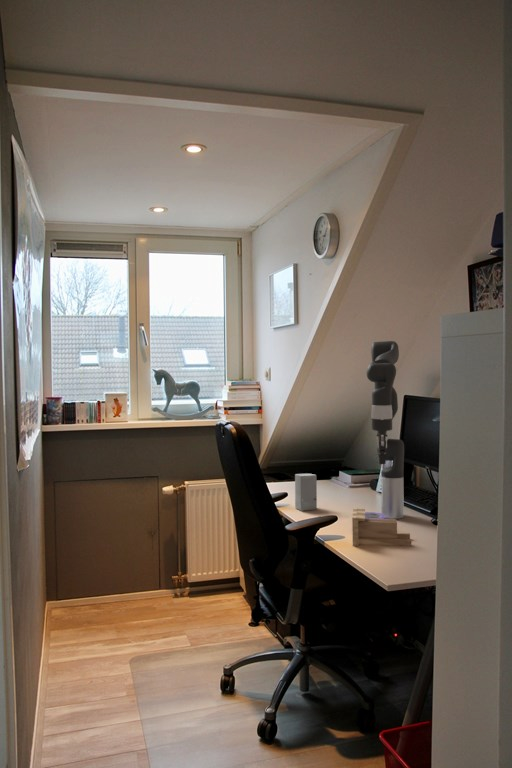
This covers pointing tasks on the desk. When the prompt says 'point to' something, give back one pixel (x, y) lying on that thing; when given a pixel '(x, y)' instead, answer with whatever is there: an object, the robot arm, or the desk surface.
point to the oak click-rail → (401, 538)
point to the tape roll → (374, 515)
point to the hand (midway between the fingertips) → (382, 463)
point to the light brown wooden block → (378, 528)
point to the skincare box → (305, 492)
